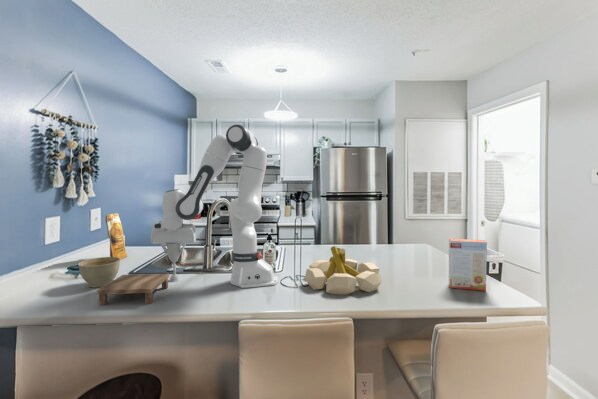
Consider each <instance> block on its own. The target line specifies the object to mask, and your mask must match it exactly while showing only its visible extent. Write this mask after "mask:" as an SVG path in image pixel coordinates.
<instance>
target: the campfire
mask: <svg viewBox="0 0 598 399" xmlns="http://www.w3.org/2000/svg"><path fill="white" fill-rule="evenodd" d="M330 251H331V255H332V256H331V257H330V258H329V260H325V259H318V260H314V261H313V262H311V263H310V264H309V266H308V268H306V271H305V275H304V280H306V283H307V284H308V286H309V287H310V288H311V289H312V290H322V289H324V287H325V286H326V289H325V290H326V291H325V292H326V293H327V294H333V295H349V294H351V293H354V292H355V289H356V284H358V287H359V289H360V291H362V292H366V293H372V292H375V291H377V290H378V289H379V287H380V286H381V284H382V277H381V274H380V267H378V266H377V265H376V264H374V263H373V262H362V263H359V264H358V261H357V260H355V259H351V258H346V249H344V248H343V247H342V248H341V247H340V248H339V247H337V246H335V245H334V246H331V248H330Z"/></svg>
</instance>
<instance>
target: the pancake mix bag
mask: <svg viewBox="0 0 598 399" xmlns="http://www.w3.org/2000/svg"><path fill="white" fill-rule="evenodd" d="M105 224H106V229H107V236H108V238H109V239H108V240H109V257H117V258H120V261H121V260H123V259H125V258H127V257H128V256H127V250H126V246H125V238H124V237H125V236H124V230H123V225H122V221H121V218H120V215H119V212H114V213H109V214H107V215H106V216H105Z"/></svg>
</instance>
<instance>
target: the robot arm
mask: <svg viewBox="0 0 598 399" xmlns="http://www.w3.org/2000/svg"><path fill="white" fill-rule="evenodd" d="M233 154H236V155H240V156H241V155H242V156H243V160H242V165H241V168H240V173H239V178H238V180H237V182H238V183H237V186H238V190H237V192H238V194H237V197H236V198H234V199H233V200H231V201H230V202H229V204H228V207H227V210H228V214H229V220H230V221H229V223H230V229H231V233H232V252H231V264H232V268H231V269H232V270H231V276H230V280H229V283H230V284H231V285H233V286H237V287H239V288H241V289H246V288H256V287H257V288H258V287H259V288H260V287H268V286H276V285H277V284H278V283H279V276H278V275H277V274H275V272H274V269H273V266H272V265H271V264H269V263H268V262H267V261H265V260H264V259H262V257H263V254H262V251H259V250H258V239H257V238H258V237H257V235H258V234H257V232H256V228H255V224H254V223H255V222H258V221H259V220H260V219H261V217H262V215H263V208H262V189H263V188H262V187H263V184H264V179H265V173H266V170H267V163H268V162H267V161H268V151H267V150H266V149H265V148H264V147H262V146H261V145H259V143H258V139H257V138H256V136H255V135H254V134H253V133H252V132H251V131H250V130H249V129H248V128H247V127H246V126H244V125H241V124H233V125H231V126H229V127H228V129H227V130H226V132H225V135H224V134H218V135H216V136H214V138H213V139H212V140H211V141H210V144H209V145H208V147H207V148H206V150H205V152H204V155H203V157H202V158H201V159H202V160H201V162H200V165H199V168H198V171H197V174H196V176H195V177H194V179H193V182H192V183H191V186H190V187H189V188H188V191H187V193H185V192H184V191H182V190H181V189H178V188H177V189H171V190H170V189H169V190H167V191H165V192H164V193H163V195H162V212H163V216H162V220H160V221H158V222H155V223H153V224H152V225H151V227H152V230H151V232H150V243H151V244H152V245H160V247H161V249H162V250H163V254H167V245H166V244H178V243H179V244H180V245H181V246H182V247H181V249H180V254H184V253H185V248H186V246H187V244H194V243H195V242H196V241H197V235H196V231H197V228H196V225H195V224H193V223H184V221H191V220H193V219H196V217H197V216H198V215H200V213H202V211H203V209H204V202H203V201H202V197H203V195H204V193H205V191H206V190H207V188H208V186H209V184H210V183H211V182H212V181H213V180H214V179H215V178H217V177H218V176H219V175H220V174H221V173H222V172H223V171H224V169H225V168H226V166H227V164H228V161H229V160H230V158H231V156H232V155H233Z"/></svg>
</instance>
